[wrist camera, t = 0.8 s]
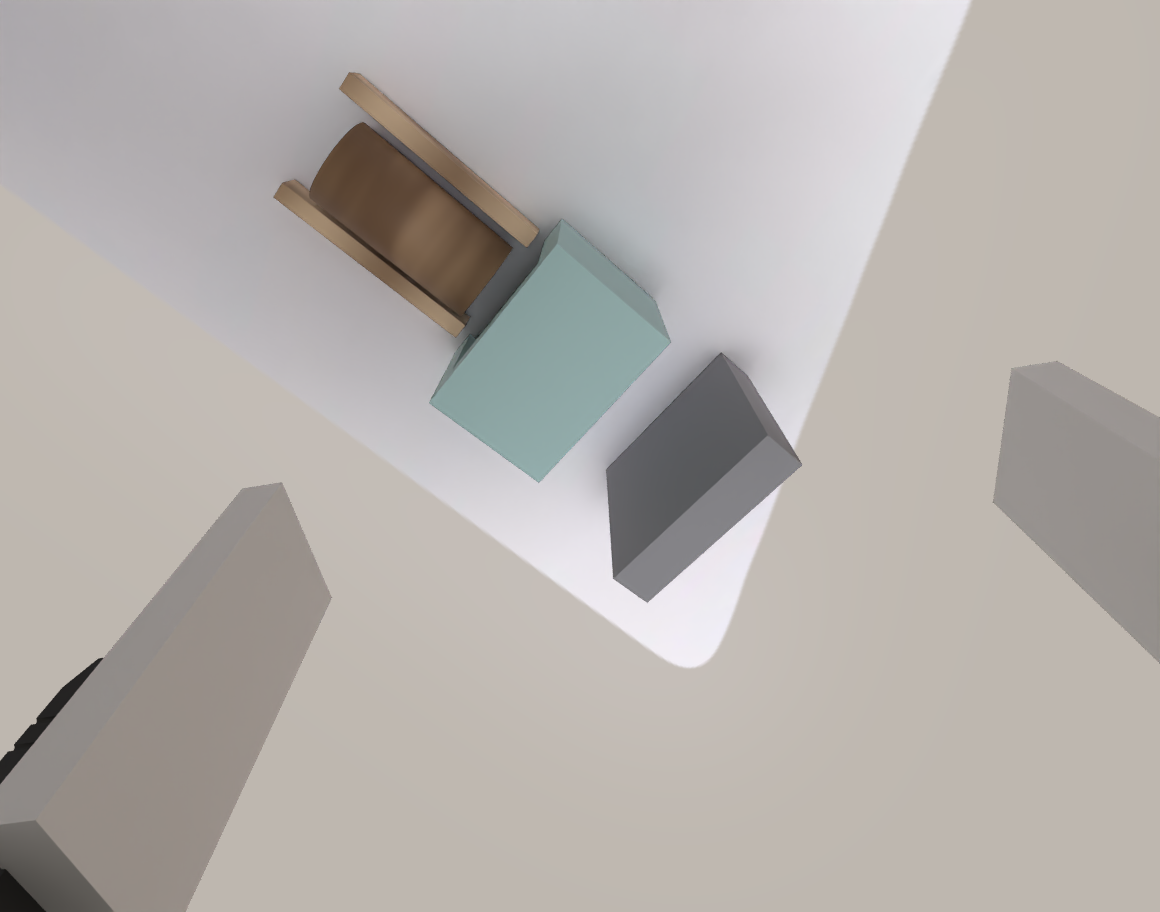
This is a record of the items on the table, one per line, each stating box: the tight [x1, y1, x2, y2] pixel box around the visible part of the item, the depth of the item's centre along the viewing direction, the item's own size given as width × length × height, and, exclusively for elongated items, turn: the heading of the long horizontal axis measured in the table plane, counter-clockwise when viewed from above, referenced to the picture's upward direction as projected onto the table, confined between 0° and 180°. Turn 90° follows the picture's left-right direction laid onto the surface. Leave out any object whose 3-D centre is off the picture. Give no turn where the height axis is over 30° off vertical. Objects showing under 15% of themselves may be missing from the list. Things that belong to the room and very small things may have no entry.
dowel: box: [309, 122, 513, 316], centre depth 31 cm, size 8×4×4 cm, turn 50°
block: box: [429, 219, 671, 483], centre depth 32 cm, size 6×9×7 cm
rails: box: [274, 72, 539, 338], centre depth 32 cm, size 10×6×2 cm, turn 50°
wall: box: [606, 353, 802, 602], centre depth 33 cm, size 2×9×10 cm, turn 140°
